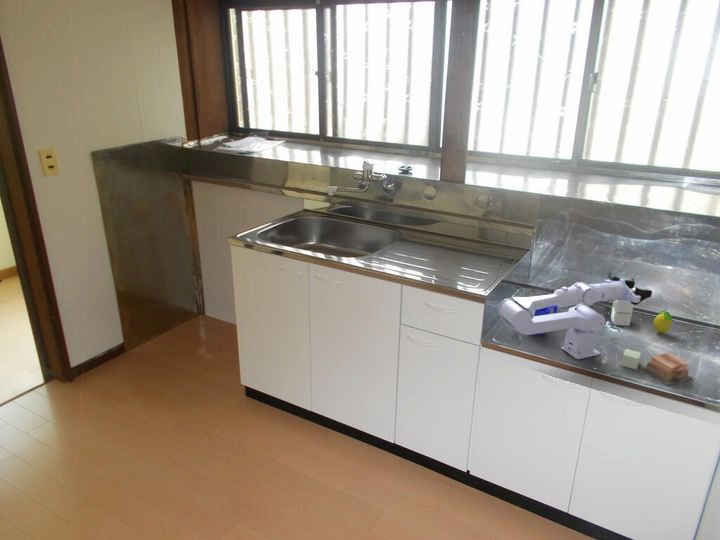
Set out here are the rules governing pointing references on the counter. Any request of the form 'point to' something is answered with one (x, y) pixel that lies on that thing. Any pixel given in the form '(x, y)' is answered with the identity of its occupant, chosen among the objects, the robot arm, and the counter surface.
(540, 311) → the mug
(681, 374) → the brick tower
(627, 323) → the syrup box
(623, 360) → the sage brick
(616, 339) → the counter surface
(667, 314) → the lemon
